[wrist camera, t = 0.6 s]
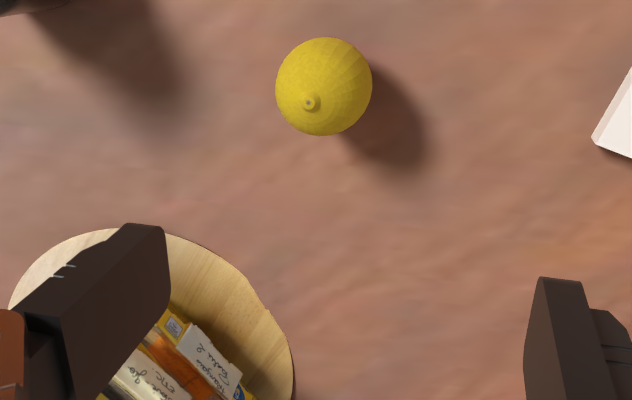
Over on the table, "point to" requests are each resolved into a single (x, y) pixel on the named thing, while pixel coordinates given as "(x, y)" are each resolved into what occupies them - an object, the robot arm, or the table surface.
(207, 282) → the stack of boxes
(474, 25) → the table surface
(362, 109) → the lemon
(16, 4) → the ink bottle
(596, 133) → the dial plate
